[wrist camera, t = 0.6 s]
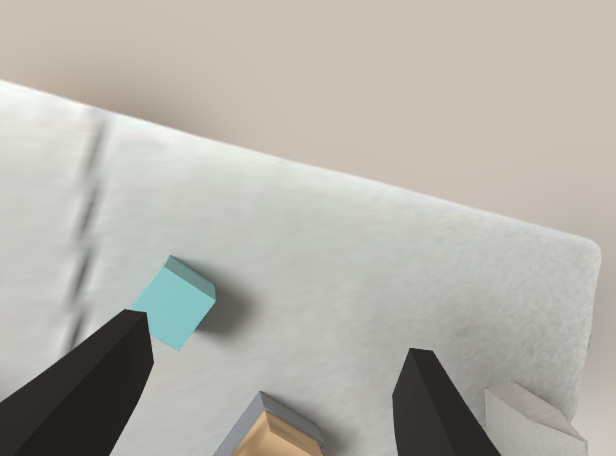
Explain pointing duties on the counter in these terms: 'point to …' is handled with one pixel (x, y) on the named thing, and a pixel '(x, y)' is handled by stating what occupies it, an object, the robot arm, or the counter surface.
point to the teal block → (175, 302)
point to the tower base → (253, 414)
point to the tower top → (276, 440)
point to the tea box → (528, 424)
